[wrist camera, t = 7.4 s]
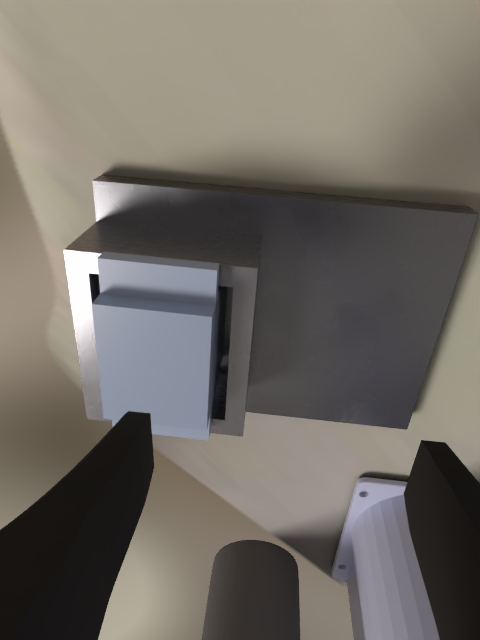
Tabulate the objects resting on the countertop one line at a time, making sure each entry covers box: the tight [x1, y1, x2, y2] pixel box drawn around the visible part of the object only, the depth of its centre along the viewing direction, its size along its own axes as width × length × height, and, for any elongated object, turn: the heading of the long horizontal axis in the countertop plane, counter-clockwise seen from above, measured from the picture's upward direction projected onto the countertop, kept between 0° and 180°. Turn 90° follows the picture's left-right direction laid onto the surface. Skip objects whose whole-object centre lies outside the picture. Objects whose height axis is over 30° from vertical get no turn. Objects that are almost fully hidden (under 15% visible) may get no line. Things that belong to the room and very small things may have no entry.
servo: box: [92, 252, 227, 441], centre depth 18 cm, size 8×4×5 cm, turn 176°
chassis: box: [64, 175, 478, 436], centre depth 19 cm, size 11×15×4 cm
